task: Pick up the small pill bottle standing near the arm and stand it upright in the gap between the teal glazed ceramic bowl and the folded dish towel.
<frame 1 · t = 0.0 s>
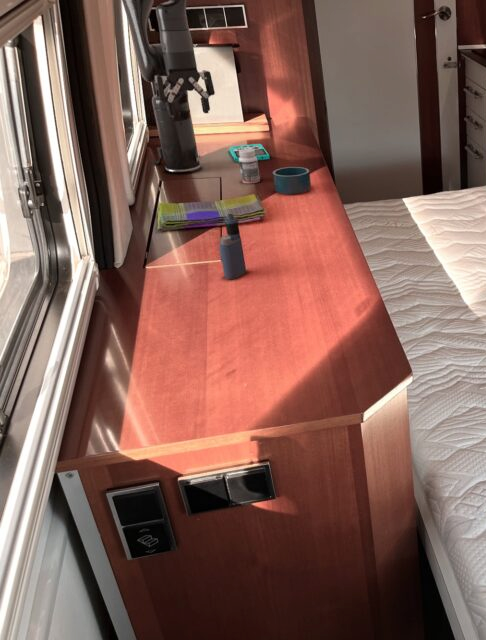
hand: (189, 115, 214), 17 cm above the table, tool pointing down, fingers open, 8 cm apart
vaping device: (236, 275, 162), on the table
dish towel: (213, 217, 195), on the table
handheld game console: (249, 155, 246), on the table
bowl: (293, 190, 214), on the table
pill bottle: (251, 182, 221), on the table
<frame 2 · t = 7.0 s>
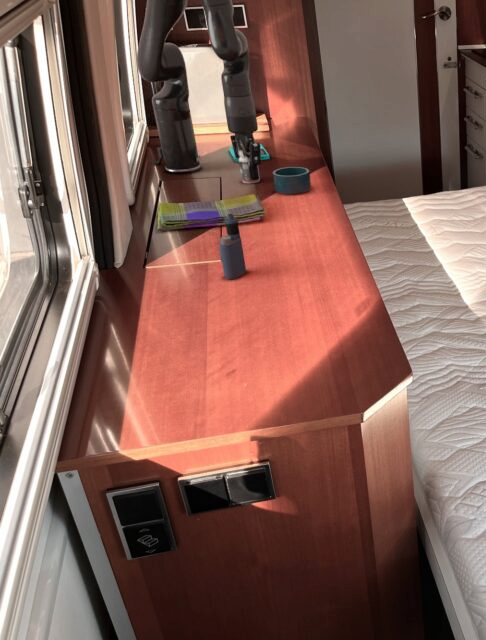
hand: (250, 177, 220), 1 cm above the table, tool pointing down, fingers closed on pill bottle, 4 cm apart
pill bottle: (251, 182, 221), on the table, touching gripper
everything else where it was.
when the fingers open (1 cm above the table, at t = 12.9 s): pill bottle stays where it is, on the table.
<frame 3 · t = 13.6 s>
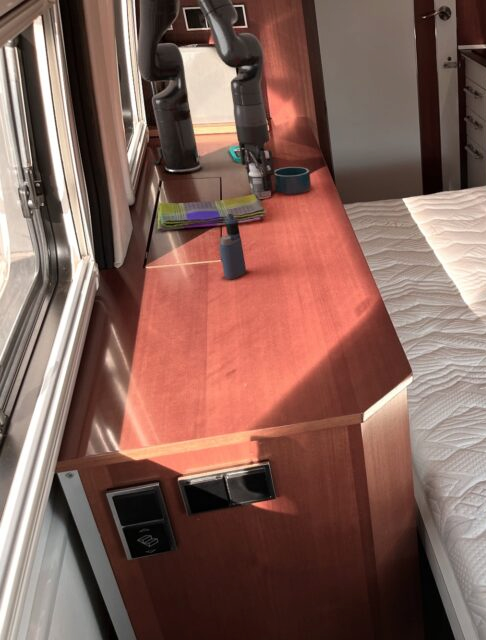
hand: (260, 187, 208), 2 cm above the table, tool pointing down, fingers open, 8 cm apart
pill bottle: (261, 197, 209), on the table
everything else where it was.
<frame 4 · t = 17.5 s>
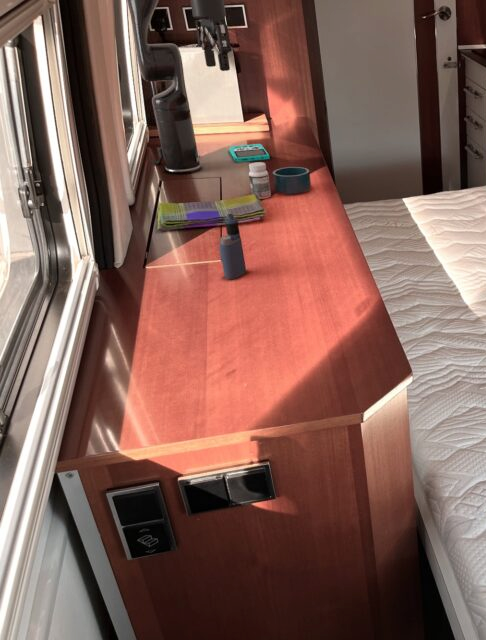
hand: (218, 68, 199), 30 cm above the table, tool pointing down, fingers open, 8 cm apart
nothing on the table moved.
at the end: pill bottle inside the target area (0.2 cm from its centre), on the table; pill bottle tilted 0°; dish towel moved 0.2 cm from its start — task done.
